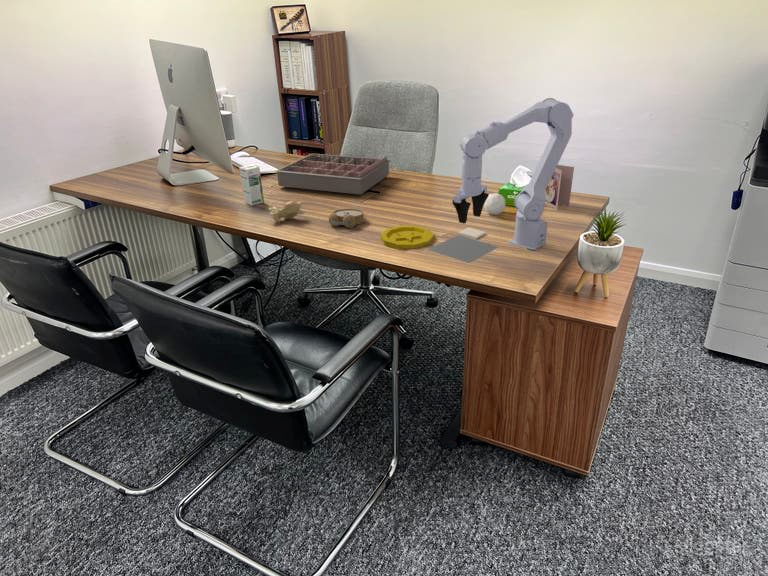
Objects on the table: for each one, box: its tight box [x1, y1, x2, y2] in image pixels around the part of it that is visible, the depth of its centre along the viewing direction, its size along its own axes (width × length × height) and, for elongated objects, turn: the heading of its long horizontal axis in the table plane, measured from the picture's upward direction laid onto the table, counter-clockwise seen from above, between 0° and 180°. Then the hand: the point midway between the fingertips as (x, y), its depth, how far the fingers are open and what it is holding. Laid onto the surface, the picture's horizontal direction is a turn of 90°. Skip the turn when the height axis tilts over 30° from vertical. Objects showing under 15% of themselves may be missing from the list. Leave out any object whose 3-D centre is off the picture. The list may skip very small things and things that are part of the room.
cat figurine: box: [268, 200, 306, 224], centre depth 203 cm, size 8×7×12 cm
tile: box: [457, 226, 487, 240], centre depth 187 cm, size 7×2×6 cm
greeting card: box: [544, 164, 575, 211], centre depth 209 cm, size 11×7×15 cm, turn 18°
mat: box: [427, 234, 499, 264], centre depth 176 cm, size 16×16×1 cm
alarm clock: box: [328, 208, 365, 229], centre depth 199 cm, size 11×5×15 cm
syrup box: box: [239, 164, 265, 206], centre depth 220 cm, size 6×6×14 cm
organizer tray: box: [274, 153, 392, 195], centre depth 243 cm, size 32×40×10 cm
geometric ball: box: [483, 192, 506, 216], centre depth 203 cm, size 8×8×8 cm
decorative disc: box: [380, 225, 435, 250], centre depth 184 cm, size 17×18×2 cm
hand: (469, 219), depth 174 cm, fingers open, 7 cm apart
